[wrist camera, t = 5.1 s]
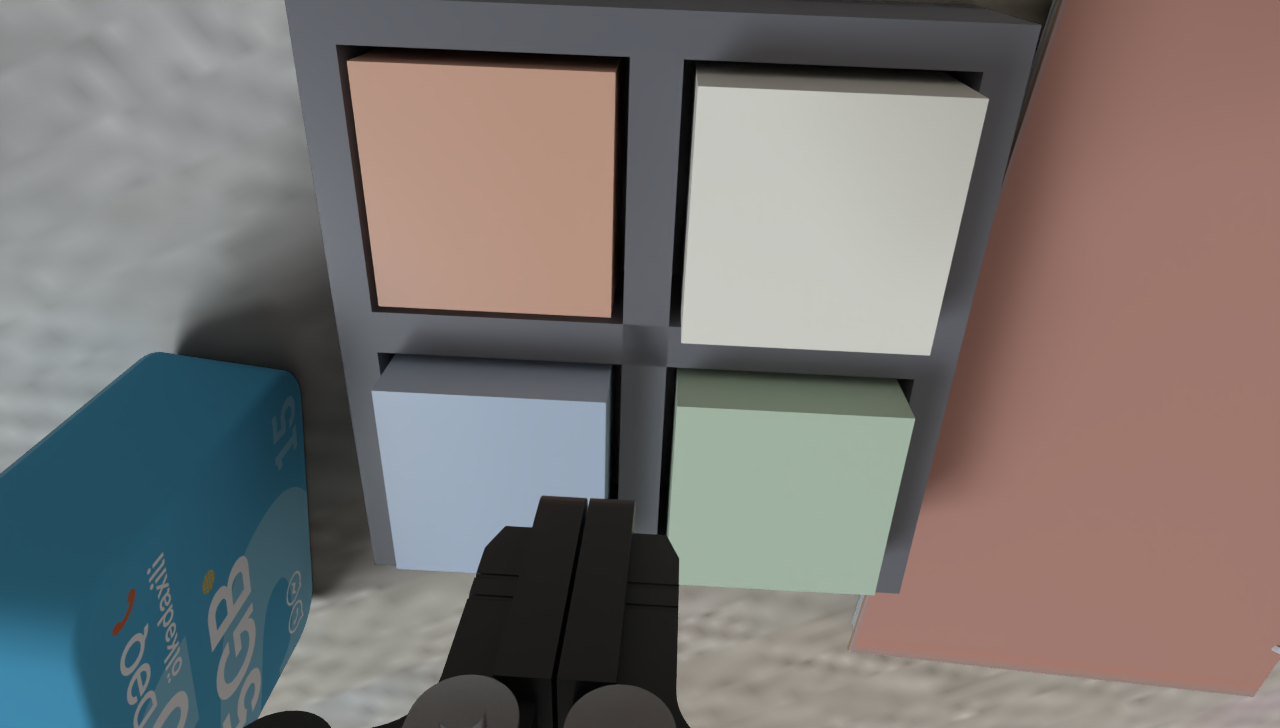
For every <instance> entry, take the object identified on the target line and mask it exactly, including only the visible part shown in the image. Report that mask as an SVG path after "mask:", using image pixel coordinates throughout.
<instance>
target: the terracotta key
mask: <svg viewBox="0 0 1280 728" xmlns="http://www.w3.org/2000/svg"><path fill="white" fill-rule="evenodd" d="M624 60H625V57H618V56H594V55H571V54H547V53H524V52H500V51H477V50H453V49H430V48H406V47H382V46H380V47H378V48H375V49H373V50H371V51H369V52H366V53H364V54H362V55H359V56H357V57H355V58H352V59H350V60H348V61H347V67H348V75H349V83H350V90H351V98H352V106H353V113H354V121H355V129H356V136H357V144H358V152H359V159H360V167H361V175H362V182H363V190H364V198H365V205H366V213H367V221H368V228H369V236H370V244H371V251H372V259H373V267H374V274H375V282H376V290H377V297H378V305H379V306H385V307H405V308H425V309H446V310H466V311H487V312H507V313H527V314H548V315H568V316H588V317H609V318H611V314H612V308H613V302H614V296H615V290H616V285H617V279H618V273H619V267H620V228H621V186H622V144H623V102H624Z"/></svg>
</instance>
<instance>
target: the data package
mask: <svg viewBox="0 0 1280 728" xmlns="http://www.w3.org/2000/svg"><path fill="white" fill-rule="evenodd" d="M311 599H312V571H311V554H310V537H309V521H308V504H307V487H306V470H305V454H304V437H303V420H302V404H301V393H300V388H299V384H298V382H297V380H296V378H295V377H294V376H293V375H292V374H291V373H289V372H287V371H284V370H277V369H271V368H264V367H257V366H250V365H244V364H237V363H230V362H223V361H217V360H210V359H203V358H197V357H190V356H183V355H176V354H170V353H163V352H155V353H151V354H148V355H146V356H144V357H143V358H141V359H140V360H138V361H137V362H136V363H135V364H134V365H132V366H131V367H130V368H129V369H127V370H126V371H125V372H124V373H123V374H121V375H120V376H119V377H118V378H116V379H115V380H114V381H113V382H112V383H110V384H109V385H108V386H107V387H105V388H104V389H103V390H102V391H101V392H99V393H98V394H97V395H96V396H95V397H93V398H92V399H91V400H90V401H88V402H87V403H86V404H85V405H84V406H82V407H81V408H80V409H79V410H77V411H76V412H75V413H74V414H73V415H71V416H70V417H69V418H68V419H66V420H65V421H64V422H63V423H62V424H60V425H59V426H58V427H57V428H56V429H54V430H53V431H52V432H51V433H49V434H48V435H47V436H46V437H45V438H43V439H42V440H41V441H40V442H38V443H37V444H36V445H35V446H34V447H32V448H31V449H30V450H29V451H27V452H26V453H25V454H24V455H23V456H21V457H20V458H19V459H18V460H16V461H15V462H14V463H13V464H12V465H10V466H9V467H8V468H7V469H6V470H4V471H3V472H2V473H1V474H0V728H243V727H245V726H246V725H248V724H250V723H252V722H253V721H255V720H257V719H258V717H259V715H260V713H261V711H262V709H263V707H264V705H265V704H266V702H267V700H268V698H269V696H270V694H271V692H272V690H273V688H274V686H275V685H276V683H277V681H278V679H279V677H280V675H281V673H282V671H283V669H284V667H285V666H286V664H287V662H288V660H289V658H290V656H291V654H292V652H293V650H294V648H295V647H296V645H297V643H298V641H299V639H300V637H301V634H302V632H303V630H304V627H305V624H306V621H307V618H308V614H309V610H310V605H311Z"/></svg>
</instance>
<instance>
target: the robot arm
mask: <svg viewBox="0 0 1280 728" xmlns="http://www.w3.org/2000/svg"><path fill="white" fill-rule="evenodd" d="M635 515H636V501H634V500H616V499H599V498H590V501H589V505H588V500H587V498H578V497H561V496H543V495H542V496H541V498H540V500H539V504H538V507H537V511H536V515H535V518H534V522H533V526H532V527H517V526H505V527H504V528H503V529H502V530H501V531H500V532H499V533H498V534H497V535H496V536H495V537H494V538H493V539H492V540H491V541H490V543H489V544H488V545H487V546H486V547H485V549H484V552H483V554H482V557H481V560H480V563H479V566H478V569H477V572H476V578H474V581H473V584H472V587H471V590H470V593H469V599H467V602H466V605H465V608H464V611H463V614H462V617H461V620H460V623H459V626H458V629H457V631H456V634H455V637H454V640H453V643H452V646H451V649H450V652H449V655H448V658H447V661H446V664H445V667H444V670H443V673H442V676H441V678H440V681H439V683H437V684H435V685H433V686H432V687H431V688H429V689H428V690H426V691H425V692H424V693H423V694H422V695H421V696H420V697H419V698H418V699H417V700H416V702H415V703H414V704H413V706H412V707H411V709H410V711H409V713H408V714H407V715H405V716H404V717H402V718H400V719H398V720H395V721H393V722H391V723H388V724H384V725H381V726H377V727H373V728H690V727H689V726H688V724H687V723H686V721H685V720H684V718H683V716H682V714H681V712H680V710H679V707H678V703H677V696H676V678H677V637H678V595H679V557H678V555H677V553H676V552H675V550H674V548H673V546H672V544H671V542H670V541H669V539H668V537H667V535H656V534H639V533H635ZM243 728H331V727H330V725H329V724H328V723H327V722H326V721H325V720H324V719H322V718H321V717H319V716H317V715H315V714H312V713H309V712H304V711H284V712H278V713H274V714H271V715H267V716H264V717H262V718H260V719H258V720H255V721H253V722H252V723H250V724H248V725H246V726H245V727H243Z"/></svg>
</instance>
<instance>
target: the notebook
mask: <svg viewBox="0 0 1280 728" xmlns="http://www.w3.org/2000/svg"><path fill="white" fill-rule="evenodd" d="M852 625H853V632H852V635H851V639H850V642H849V645H848V651H849V652H856V653H865V654H874V655H883V656H892V657H901V658H910V659H919V660H928V661H937V662H946V663H954V664H963V665H972V666H981V667H990V668H999V669H1008V670H1017V671H1026V672H1035V673H1044V674H1053V675H1062V676H1071V677H1079V678H1088V679H1097V680H1106V681H1115V682H1124V683H1133V684H1142V685H1151V686H1160V687H1169V688H1178V689H1187V690H1195V691H1204V692H1213V693H1222V694H1231V695H1240V696H1249V697H1254V695H1255V694H1256V692H1257V691H1258V689H1259V688H1260V687H1261V685H1262V684H1263V682H1264V681H1265V679H1266V678H1267V676H1268V675H1269V674H1270V672H1271V671H1272V669H1273V668H1274V666H1275V665H1276V663H1277V662H1278V661H1279V659H1280V0H1053V2H1052V5H1051V8H1050V11H1049V14H1048V17H1047V20H1046V23H1045V27H1044V30H1043V33H1042V36H1041V39H1040V42H1039V45H1038V48H1037V51H1036V54H1035V57H1034V61H1033V64H1032V67H1031V70H1030V74H1029V78H1028V82H1027V86H1026V90H1025V94H1024V98H1023V102H1022V106H1021V110H1020V114H1019V118H1018V122H1017V126H1016V130H1015V134H1014V138H1013V142H1012V146H1011V150H1010V154H1009V158H1008V162H1007V166H1006V170H1005V174H1004V178H1003V182H1002V186H1001V190H1000V194H999V198H998V202H997V206H996V210H995V214H994V218H993V222H992V226H991V230H990V234H989V238H988V242H987V246H986V250H985V253H984V257H983V261H982V265H981V269H980V273H979V277H978V281H977V285H976V289H975V293H974V297H973V301H972V305H971V309H970V313H969V317H968V321H967V325H966V329H965V333H964V337H963V341H962V345H961V349H960V353H959V357H958V361H957V365H956V369H955V373H954V377H953V381H952V385H951V389H950V393H949V397H948V401H947V405H946V409H945V413H944V417H943V421H942V425H941V429H940V433H939V437H938V441H937V445H936V449H935V453H934V457H933V461H932V465H931V469H930V473H929V477H928V481H927V485H926V489H925V493H924V497H923V501H922V505H921V509H920V513H919V517H918V521H917V525H916V529H915V533H914V537H913V541H912V545H911V549H910V553H909V557H908V561H907V565H906V569H905V573H904V577H903V581H902V585H901V589H900V593H899V594H895V593H877V592H875V595H860V598H859V601H858V604H857V608H856V611H855V614H854V617H853V620H852Z"/></svg>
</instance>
